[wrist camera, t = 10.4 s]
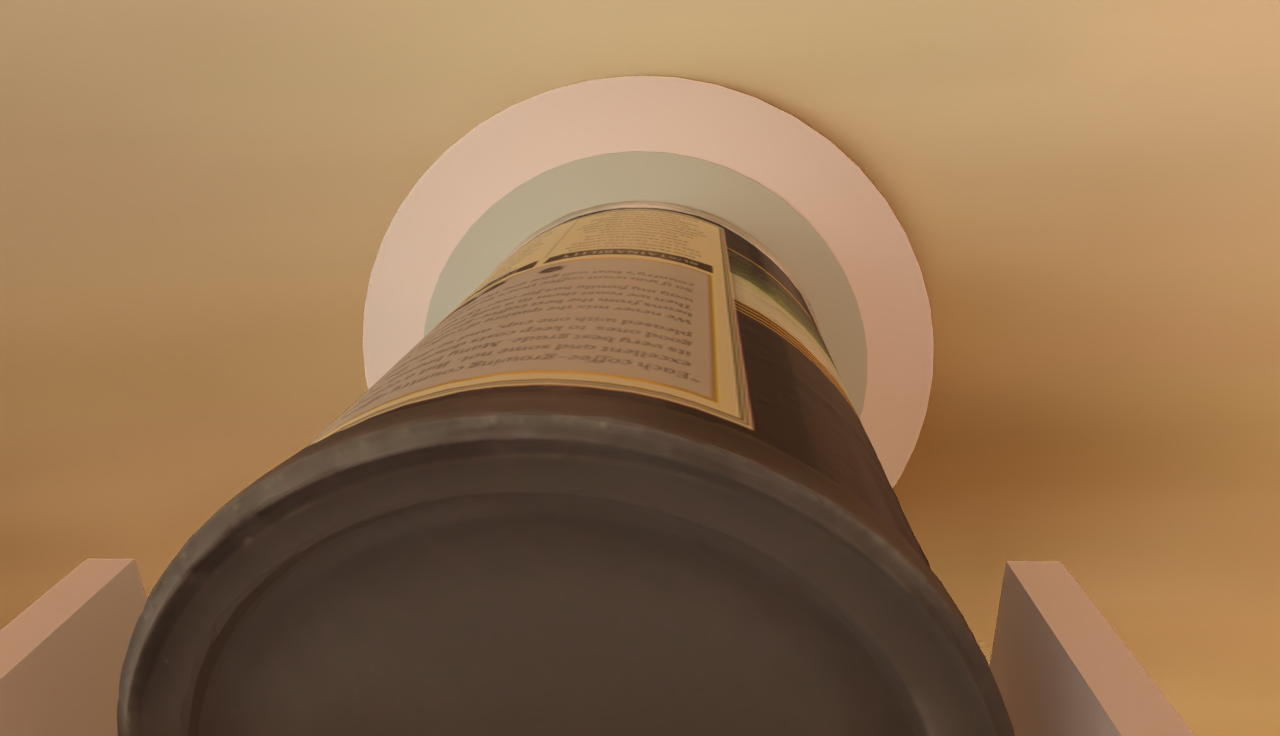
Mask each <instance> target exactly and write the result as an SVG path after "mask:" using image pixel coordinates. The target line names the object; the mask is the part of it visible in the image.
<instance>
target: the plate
mask: <svg viewBox="0 0 1280 736" xmlns="http://www.w3.org/2000/svg"><path fill="white" fill-rule="evenodd" d="M628 201H652V202H664V203H671V204H676V205H681V206H686V207H690V208H693V209H697V210H701V211H704V212H707V213H709V214H712V215H714V216H717V217H719V218H721V219H723V220H725V221H727V222H728V223H730V224H732V225H734V226H736V227H738V228H739V229H741V230H742V231H744V232H745V233H747V234H749V235H750V236H751V237H753V238H754V239H755V240H757V241H758V242H759V243H761V244H762V245H763V246H765V247H766V248H767V249H768V250H769V251H770V252H771V253H772V254H774V255H775V256H776V258H777V259H778V260H779V261H780V262H781V263H782V264H783V265H784V266H785V267H786V268H787V270H788V271H789V272H790V273H791V274H792V276H793V277H794V278H795V279H796V281H797V282H798V284H799V286H800V287H801V289H802V290H803V292H804V294H805V295H806V297H807V299H808V301H809V303H810V305H811V307H812V309H813V311H814V314H815V316H816V319H817V322H818V324H819V327H820V330H821V333H822V337H823V341H824V343H825V345H826V347H827V350H828V352H829V354H830V356H831V358H832V361H833V363H834V365H835V367H836V369H837V371H838V373H839V375H840V378H841V380H842V382H843V384H844V386H845V389H846V391H847V393H848V395H849V397H850V399H851V401H852V403H853V405H854V408H855V410H856V412H857V414H858V416H859V419H860V421H861V423H862V425H863V427H864V430H865V432H866V434H867V436H868V438H869V440H870V442H871V444H872V446H873V448H874V450H875V452H876V454H877V457H878V459H879V461H880V463H881V465H882V467H883V470H884V472H885V474H886V476H887V479H888V481H889V483H890V485H891V487H892V489H893V487H894V486H895V484H896V483H897V481H898V480H899V478H900V477H901V475H902V473H903V471H904V469H905V467H906V465H907V463H908V461H909V458H910V456H911V454H912V452H913V450H914V448H915V446H916V443H917V440H918V437H919V434H920V431H921V428H922V425H923V422H924V419H925V416H926V413H927V407H928V402H929V396H930V391H931V385H932V379H933V357H934V337H933V328H932V318H931V309H930V303H929V299H928V295H927V291H926V287H925V284H924V280H923V276H922V272H921V268H920V266H919V264H918V261H917V259H916V256H915V254H914V252H913V249H912V247H911V245H910V242H909V240H908V237H907V235H906V233H905V231H904V229H903V228H902V226H901V225H900V223H899V221H898V220H897V218H896V216H895V215H894V213H893V211H892V210H891V208H890V206H889V205H888V203H887V201H886V200H885V198H884V197H883V196H882V195H881V193H880V192H879V191H878V190H877V189H876V187H875V186H874V185H873V184H872V182H871V181H870V180H869V179H868V178H867V176H866V175H865V174H864V173H863V172H862V170H861V169H860V168H859V167H858V166H857V165H856V164H855V163H854V162H852V161H851V160H850V159H849V158H848V157H847V156H846V155H845V154H844V153H843V152H842V151H840V150H839V149H838V148H837V147H836V146H835V145H834V144H833V143H832V142H831V141H830V140H828V139H827V138H825V137H824V136H822V135H821V134H819V133H818V132H816V131H815V130H813V129H812V128H811V127H809V126H808V125H806V124H805V123H803V122H802V121H800V120H799V119H797V118H796V117H794V116H792V115H790V114H788V113H786V112H784V111H782V110H780V109H778V108H776V107H774V106H772V105H770V104H768V103H766V102H764V101H762V100H760V99H758V98H756V97H753V96H750V95H747V94H744V93H741V92H738V91H735V90H732V89H729V88H726V87H723V86H720V85H717V84H713V83H707V82H701V81H696V80H690V79H685V78H679V77H666V76H640V75H634V76H624V77H614V78H604V79H594V80H588V81H584V82H580V83H576V84H572V85H568V86H564V87H559V88H555V89H551V90H548V91H546V92H543V93H541V94H538V95H536V96H533V97H531V98H528V99H526V100H524V101H521V102H519V103H516V104H514V105H511V106H510V107H508V108H506V109H505V110H503V111H501V112H499V113H498V114H496V115H494V116H492V117H491V118H489V119H487V120H486V121H484V122H482V123H480V124H479V125H477V126H476V127H474V128H473V129H472V130H471V131H469V132H468V133H467V134H466V135H464V136H463V137H462V138H461V139H459V140H458V141H457V142H456V143H454V144H453V145H452V146H450V147H449V148H448V149H447V150H446V151H445V152H444V153H443V154H442V155H441V156H440V157H439V158H438V159H437V160H436V161H435V162H434V163H433V164H432V165H431V167H430V168H429V169H428V170H427V171H426V172H425V173H424V174H423V175H422V176H421V177H420V178H419V180H418V181H417V183H416V184H415V186H414V187H413V188H412V190H411V191H410V193H409V194H408V195H407V197H406V198H405V200H404V201H403V203H402V204H401V205H400V207H399V208H398V210H397V212H396V214H395V216H394V218H393V220H392V222H391V224H390V226H389V228H388V230H387V232H386V234H385V236H384V238H383V240H382V242H381V245H380V248H379V251H378V254H377V257H376V260H375V263H374V266H373V269H372V272H371V275H370V280H369V286H368V291H367V296H366V302H365V307H364V321H363V344H362V345H363V356H364V367H365V378H366V383H367V387H368V390H369V389H370V388H371V387H372V386H373V385H374V384H375V383H376V382H377V381H378V380H379V379H380V378H381V377H382V376H383V375H384V374H386V373H387V372H388V371H389V370H390V369H391V368H392V367H393V366H394V365H395V364H396V363H397V362H398V361H399V360H400V359H402V358H403V357H404V356H405V355H406V354H407V353H408V352H409V351H410V350H411V349H412V348H413V347H414V346H415V345H416V344H418V343H419V342H420V341H421V340H422V339H423V338H424V337H425V336H426V335H427V334H428V333H429V332H431V331H432V330H433V328H434V327H436V326H437V325H438V324H439V323H440V322H441V321H442V320H443V319H444V318H445V317H446V316H447V315H448V314H449V313H451V312H452V311H453V310H454V309H455V308H456V307H457V306H458V305H459V304H460V303H462V302H463V301H464V300H465V299H466V298H467V297H468V296H469V295H470V294H471V293H472V292H473V291H474V290H475V289H476V288H477V287H478V286H479V285H480V284H482V283H483V282H484V281H485V280H486V279H487V278H488V277H489V276H490V275H491V274H492V272H493V271H494V270H495V268H496V267H497V266H498V264H499V263H500V262H501V261H502V260H503V258H504V257H506V256H507V255H508V254H509V253H510V252H511V251H512V250H513V249H514V248H515V247H516V246H517V245H518V244H520V243H521V242H522V241H523V240H524V239H526V238H527V237H528V236H530V235H531V234H533V233H534V232H536V231H537V230H539V229H541V228H542V227H544V226H546V225H547V224H549V223H551V222H552V221H554V220H556V219H558V218H560V217H563V216H565V215H567V214H569V213H572V212H576V211H579V210H583V209H586V208H590V207H593V206H598V205H603V204H609V203H618V202H628Z"/></svg>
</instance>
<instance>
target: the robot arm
mask: <svg viewBox="0 0 1280 736" xmlns="http://www.w3.org/2000/svg"><path fill="white" fill-rule="evenodd" d="M146 602H147V598H146V595H145V591H144V588H143V585H142V581H141V578H140V575H139V571H138V568H137V565H136V561H135V558H87V559H86V560H84V561H83V562H82V563H81V564H79V565H78V566H77V567H76V568H75V569H73V570H72V571H71V572H70V573H69V574H67V575H66V576H65V577H64V578H63V579H61V580H60V581H59V582H58V583H57V584H55V585H54V586H53V587H52V588H51V589H49V590H48V591H47V592H46V593H44V594H43V595H42V596H41V597H40V598H38V599H37V600H36V601H35V602H34V603H32V604H31V605H30V606H29V607H28V608H26V609H25V610H24V611H23V612H22V613H20V614H19V615H18V616H17V617H16V618H14V619H13V620H12V621H11V622H9V623H8V624H7V625H6V626H5V627H3V628H2V629H1V630H0V736H118V731H117V703H118V698H119V682H120V675H121V669H122V666H123V662H124V659H125V656H126V653H127V649H128V646H129V643H130V639H131V636H132V634H133V631H134V628H135V626H136V623H137V621H138V618H139V617H140V615H141V613H142V611H143V610H144V606H145V604H146ZM990 670H991V672H992V674H993V676H994V679H995V681H996V683H997V685H998V688H999V690H1000V693H1001V696H1002V698H1003V701H1004V704H1005V706H1006V709H1007V712H1008V714H1009V717H1010V720H1011V723H1012V726H1013V729H1014V735H1015V736H1195V735H1194V734H1193V732H1192V731H1191V730H1190V729H1189V727H1188V726H1187V725H1186V723H1185V722H1184V721H1183V719H1182V718H1181V717H1180V716H1179V714H1178V713H1177V712H1176V710H1175V709H1174V708H1173V706H1172V705H1171V704H1170V703H1169V701H1168V700H1167V699H1166V697H1165V696H1164V695H1163V693H1162V692H1161V691H1160V690H1159V688H1158V687H1157V686H1156V684H1155V683H1154V682H1153V680H1152V679H1151V678H1150V677H1149V675H1148V674H1147V673H1146V671H1145V670H1144V669H1143V668H1142V666H1141V665H1140V664H1139V662H1138V661H1137V660H1136V658H1135V657H1134V656H1133V655H1132V653H1131V652H1130V651H1129V649H1128V648H1127V647H1126V645H1125V644H1124V643H1123V642H1122V640H1121V639H1120V638H1119V636H1118V635H1117V634H1116V632H1115V631H1114V630H1113V629H1112V627H1111V626H1110V625H1109V623H1108V622H1107V621H1106V619H1105V618H1104V617H1103V616H1102V614H1101V613H1100V612H1099V610H1098V609H1097V608H1096V606H1095V605H1094V604H1093V603H1092V601H1091V600H1090V599H1089V597H1088V596H1087V595H1086V593H1085V592H1084V591H1083V590H1082V588H1081V587H1080V586H1079V584H1078V583H1077V582H1076V580H1075V579H1074V578H1073V577H1072V575H1071V574H1070V573H1069V571H1068V570H1067V569H1066V567H1065V566H1064V565H1063V564H1062V562H1061V561H1006V566H1005V572H1004V579H1003V585H1002V591H1001V598H1000V604H999V611H998V617H997V623H996V630H995V636H994V642H993V649H992V655H991V661H990Z"/></svg>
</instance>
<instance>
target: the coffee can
mask: <svg viewBox="0 0 1280 736" xmlns="http://www.w3.org/2000/svg"><path fill="white" fill-rule="evenodd" d="M117 731H118V736H1015V735H1014V729H1013V726H1012V723H1011V720H1010V717H1009V714H1008V712H1007V709H1006V706H1005V704H1004V701H1003V698H1002V696H1001V693H1000V690H999V688H998V685H997V683H996V681H995V679H994V676H993V674H992V672H991V670H990V667H989V665H988V662H987V660H986V658H985V656H984V654H983V653H982V651H981V649H980V647H979V646H978V644H977V642H976V640H975V638H974V635H973V633H972V632H971V630H970V629H969V627H968V625H967V623H966V621H965V619H964V617H963V615H962V614H961V612H960V611H959V609H958V608H957V606H956V604H955V603H954V601H953V600H952V598H951V597H950V595H949V593H948V592H947V590H946V589H945V587H944V586H943V584H942V582H941V581H940V580H939V579H938V578H937V576H936V575H935V574H934V573H933V572H932V570H931V568H930V565H929V562H928V560H927V558H926V556H925V555H924V553H923V551H922V549H921V547H920V545H919V543H918V542H917V540H916V538H915V536H914V534H913V532H912V530H911V528H910V526H909V523H908V521H907V519H906V517H905V515H904V513H903V511H902V509H901V506H900V504H899V501H898V499H897V497H896V495H895V493H894V491H893V489H892V487H891V485H890V483H889V481H888V479H887V476H886V474H885V472H884V470H883V467H882V465H881V463H880V461H879V459H878V457H877V454H876V452H875V450H874V448H873V446H872V444H871V442H870V440H869V438H868V436H867V434H866V432H865V430H864V427H863V425H862V423H861V421H860V419H859V416H858V414H857V412H856V410H855V408H854V405H853V403H852V401H851V399H850V397H849V395H848V393H847V391H846V389H845V386H844V384H843V382H842V380H841V378H840V375H839V373H838V371H837V369H836V367H835V365H834V363H833V361H832V358H831V356H830V354H829V352H828V350H827V347H826V345H825V343H824V341H823V337H822V333H821V330H820V327H819V324H818V322H817V319H816V316H815V314H814V311H813V309H812V307H811V305H810V303H809V301H808V299H807V297H806V295H805V294H804V292H803V290H802V289H801V287H800V286H799V284H798V282H797V281H796V279H795V278H794V277H793V276H792V274H791V273H790V272H789V271H788V270H787V268H786V267H785V266H784V265H783V264H782V263H781V262H780V261H779V260H778V259H777V258H776V256H775V255H774V254H772V253H771V252H770V251H769V250H768V249H767V248H766V247H765V246H763V245H762V244H761V243H759V242H758V241H757V240H755V239H754V238H753V237H751V236H750V235H749V234H747V233H745V232H744V231H742V230H741V229H739V228H738V227H736V226H734V225H732V224H730V223H728V222H727V221H725V220H723V219H721V218H719V217H717V216H714V215H712V214H709V213H707V212H704V211H701V210H697V209H693V208H690V207H686V206H681V205H676V204H671V203H664V202H652V201H628V202H618V203H609V204H603V205H598V206H593V207H590V208H586V209H583V210H579V211H576V212H572V213H569V214H567V215H565V216H563V217H560V218H558V219H556V220H554V221H552V222H551V223H549V224H547V225H546V226H544V227H542V228H541V229H539V230H537V231H536V232H534V233H533V234H531V235H530V236H528V237H527V238H526V239H524V240H523V241H522V242H521V243H520V244H518V245H517V246H516V247H515V248H514V249H513V250H512V251H511V252H510V253H509V254H508V255H507V256H506V257H504V258H503V260H502V261H501V262H500V263H499V264H498V266H497V267H496V268H495V270H494V271H493V272H492V274H491V275H490V276H489V277H488V278H487V279H486V280H485V281H484V282H483V283H482V284H480V285H479V286H478V287H477V288H476V289H475V290H474V291H473V292H472V293H471V294H470V295H469V296H468V297H467V298H466V299H465V300H464V301H463V302H462V303H460V304H459V305H458V306H457V307H456V308H455V309H454V310H453V311H452V312H451V313H449V314H448V315H447V316H446V317H445V318H444V319H443V320H442V321H441V322H440V323H439V324H438V325H437V326H436V327H434V328H433V330H432V331H431V332H429V333H428V334H427V335H426V336H425V337H424V338H423V339H422V340H421V341H420V342H419V343H418V344H416V345H415V346H414V347H413V348H412V349H411V350H410V351H409V352H408V353H407V354H406V355H405V356H404V357H403V358H402V359H400V360H399V361H398V362H397V363H396V364H395V365H394V366H393V367H392V368H391V369H390V370H389V371H388V372H387V373H386V374H384V375H383V376H382V377H381V378H380V379H379V380H378V381H377V382H376V383H375V384H374V385H373V386H372V387H371V388H370V389H369V390H368V391H367V392H365V393H364V394H363V395H362V396H361V397H360V398H359V399H358V400H357V401H356V402H355V403H354V404H353V405H352V406H351V407H350V408H348V409H347V410H346V411H345V412H344V413H343V414H342V415H341V416H340V417H339V418H337V419H336V420H335V421H334V422H333V423H332V424H331V425H330V426H329V427H328V428H327V429H325V430H324V431H323V432H322V433H321V434H320V435H319V436H318V437H317V438H316V439H314V440H313V441H312V442H311V443H310V444H309V445H308V446H307V447H306V448H304V449H303V450H301V451H300V452H298V453H297V454H295V455H294V456H292V457H291V458H289V459H288V460H286V461H285V462H283V463H282V464H280V465H279V466H277V467H276V468H274V469H273V470H271V471H270V472H268V473H267V474H265V475H264V476H262V477H261V478H259V479H258V480H257V481H255V482H254V483H253V484H251V485H250V486H249V487H247V488H246V489H245V490H243V491H242V492H240V493H239V494H238V495H236V496H235V497H234V498H233V499H232V500H230V501H229V502H228V503H227V504H225V505H224V506H223V507H222V508H221V509H220V510H219V511H218V512H216V513H215V514H214V515H213V516H212V517H211V518H210V519H209V520H208V521H207V522H206V523H205V524H204V525H203V526H202V527H201V528H200V529H199V530H198V531H197V532H196V533H195V534H194V535H193V536H192V537H191V538H190V539H189V540H188V541H187V543H186V544H185V545H184V546H183V548H182V549H181V550H180V552H179V553H178V554H177V556H176V557H175V558H174V559H173V561H172V562H171V563H170V565H169V566H168V568H167V569H166V570H165V572H164V573H163V575H162V576H161V577H160V579H159V581H158V582H157V584H156V585H155V587H154V588H153V590H152V591H151V593H150V595H149V598H148V600H147V602H146V604H145V606H144V610H143V611H142V613H141V615H140V617H139V618H138V621H137V623H136V626H135V628H134V631H133V634H132V636H131V639H130V643H129V646H128V649H127V653H126V656H125V659H124V662H123V666H122V669H121V675H120V682H119V698H118V703H117Z"/></svg>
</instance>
